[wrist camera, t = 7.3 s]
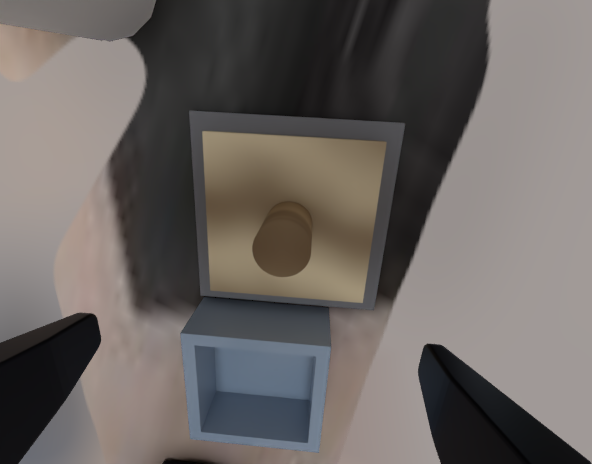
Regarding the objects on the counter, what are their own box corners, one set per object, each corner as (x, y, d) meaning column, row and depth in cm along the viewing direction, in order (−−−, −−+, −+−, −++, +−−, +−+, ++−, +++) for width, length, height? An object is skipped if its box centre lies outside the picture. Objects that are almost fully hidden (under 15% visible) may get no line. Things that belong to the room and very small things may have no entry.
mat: (372, 305, 21) (373, 310, 21) (203, 291, 22) (200, 295, 21) (402, 123, 17) (405, 122, 16) (193, 110, 18) (189, 110, 17)
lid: (361, 296, 20) (373, 345, 16) (214, 284, 21) (185, 329, 16) (383, 140, 17) (407, 147, 12) (207, 130, 17) (168, 133, 13)
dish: (318, 402, 25) (318, 452, 21) (209, 391, 25) (190, 438, 21) (328, 307, 21) (331, 347, 18) (204, 297, 22) (180, 333, 18)
